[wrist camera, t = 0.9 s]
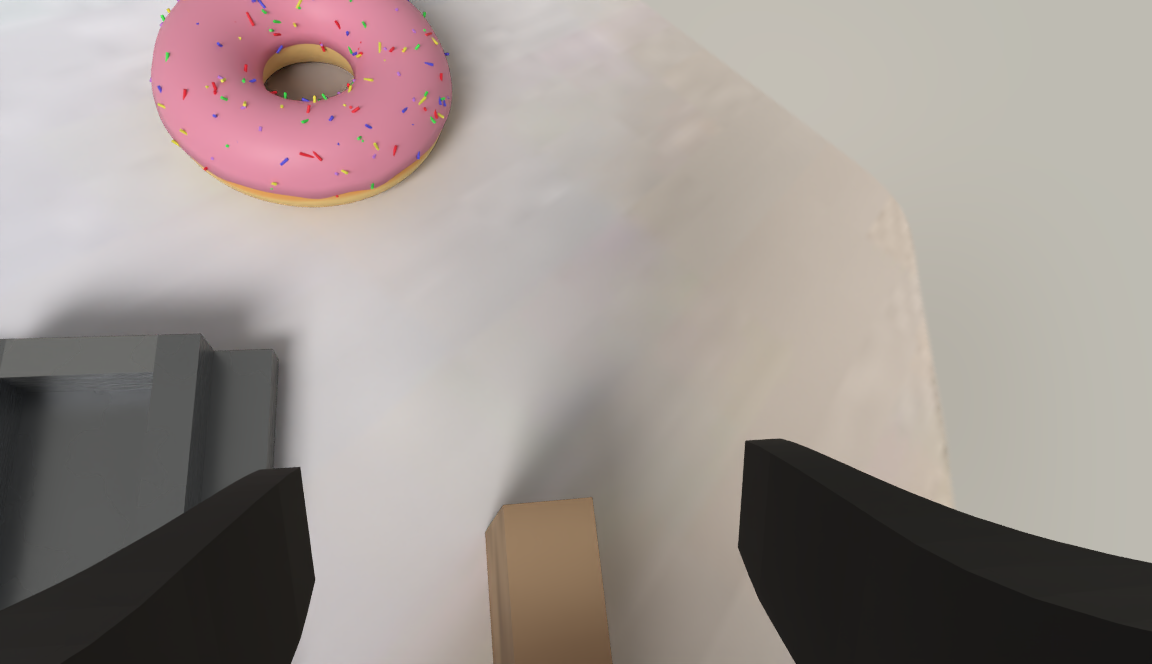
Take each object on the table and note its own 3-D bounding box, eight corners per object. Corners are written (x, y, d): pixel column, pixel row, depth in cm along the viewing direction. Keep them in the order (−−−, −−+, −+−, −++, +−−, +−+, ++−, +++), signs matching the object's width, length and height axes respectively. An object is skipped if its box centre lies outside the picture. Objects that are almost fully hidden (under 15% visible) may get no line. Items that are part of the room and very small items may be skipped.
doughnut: (168, 237, 25) (123, 169, 21) (171, 11, 29) (133, -80, 25) (466, 218, 28) (473, 155, 24) (433, 14, 32) (434, -67, 28)
